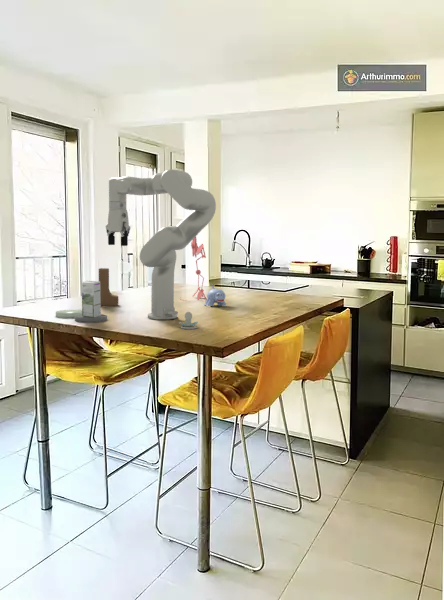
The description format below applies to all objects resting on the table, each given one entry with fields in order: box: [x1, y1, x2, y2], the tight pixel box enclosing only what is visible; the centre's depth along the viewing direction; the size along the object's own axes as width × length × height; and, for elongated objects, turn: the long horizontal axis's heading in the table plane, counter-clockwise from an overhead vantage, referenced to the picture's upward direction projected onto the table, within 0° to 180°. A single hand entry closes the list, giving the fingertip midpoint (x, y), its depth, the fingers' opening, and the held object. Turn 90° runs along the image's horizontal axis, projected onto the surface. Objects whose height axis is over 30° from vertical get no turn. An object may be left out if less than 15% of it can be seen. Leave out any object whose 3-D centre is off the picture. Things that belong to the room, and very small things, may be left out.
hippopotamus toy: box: [203, 285, 228, 308], centre depth 264 cm, size 11×15×10 cm
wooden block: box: [98, 267, 119, 307], centre depth 258 cm, size 9×4×18 cm, turn 96°
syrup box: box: [81, 280, 102, 317], centre depth 218 cm, size 6×6×14 cm
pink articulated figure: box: [179, 236, 208, 302], centre depth 286 cm, size 15×26×35 cm, turn 12°
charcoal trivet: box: [74, 313, 108, 324], centre depth 219 cm, size 13×13×2 cm
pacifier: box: [178, 311, 198, 330], centre depth 206 cm, size 7×6×6 cm
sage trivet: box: [55, 309, 82, 319], centre depth 228 cm, size 12×12×2 cm
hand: (117, 245), depth 236 cm, fingers open, 9 cm apart
